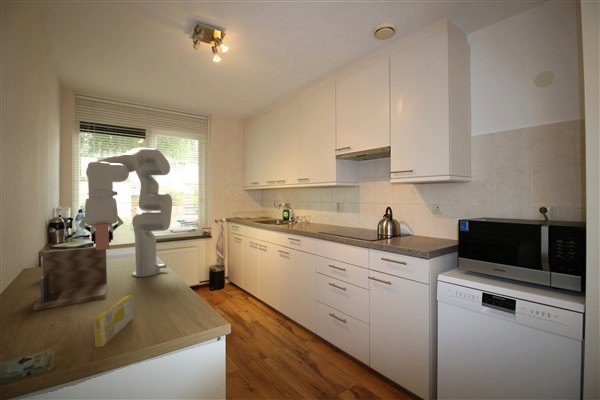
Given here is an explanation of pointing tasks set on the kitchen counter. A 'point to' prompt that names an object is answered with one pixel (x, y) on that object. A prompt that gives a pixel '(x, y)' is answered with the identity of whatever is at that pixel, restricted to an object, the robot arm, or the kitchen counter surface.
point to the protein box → (70, 246)
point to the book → (102, 236)
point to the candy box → (112, 320)
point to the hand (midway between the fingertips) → (102, 242)
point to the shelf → (75, 276)
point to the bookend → (47, 290)
